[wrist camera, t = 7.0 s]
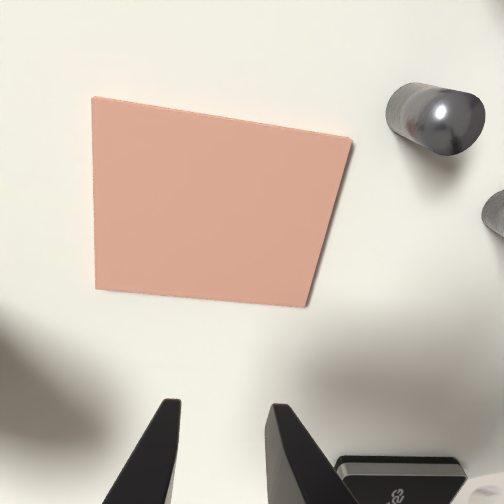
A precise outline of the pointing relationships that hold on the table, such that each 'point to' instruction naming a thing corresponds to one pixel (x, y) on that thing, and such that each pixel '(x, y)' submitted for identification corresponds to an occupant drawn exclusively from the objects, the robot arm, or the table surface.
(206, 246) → the mat
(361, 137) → the table surface
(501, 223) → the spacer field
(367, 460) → the external hard drive
